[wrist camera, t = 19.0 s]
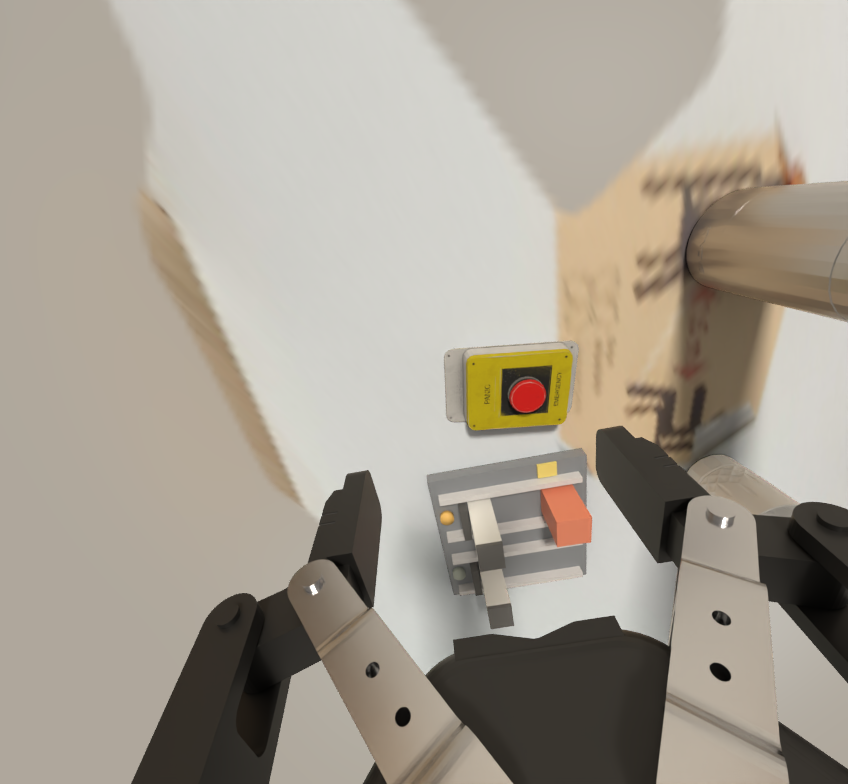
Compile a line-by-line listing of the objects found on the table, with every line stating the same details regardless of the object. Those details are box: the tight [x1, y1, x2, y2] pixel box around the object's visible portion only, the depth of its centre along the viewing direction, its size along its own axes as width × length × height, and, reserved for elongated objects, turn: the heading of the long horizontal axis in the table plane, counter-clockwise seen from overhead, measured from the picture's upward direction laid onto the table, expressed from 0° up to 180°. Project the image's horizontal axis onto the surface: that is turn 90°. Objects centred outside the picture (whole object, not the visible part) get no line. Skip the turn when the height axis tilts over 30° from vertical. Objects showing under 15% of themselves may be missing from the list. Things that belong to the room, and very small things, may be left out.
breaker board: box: [427, 448, 587, 596], centre depth 51 cm, size 20×22×4 cm
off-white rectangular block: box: [467, 498, 506, 572], centre depth 46 cm, size 3×4×7 cm
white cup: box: [687, 455, 800, 517], centre depth 45 cm, size 8×8×10 cm
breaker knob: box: [478, 562, 514, 629], centre depth 50 cm, size 3×4×7 cm
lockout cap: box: [540, 484, 592, 547], centre depth 46 cm, size 4×4×6 cm
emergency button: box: [444, 341, 579, 430], centre depth 41 cm, size 9×4×15 cm
